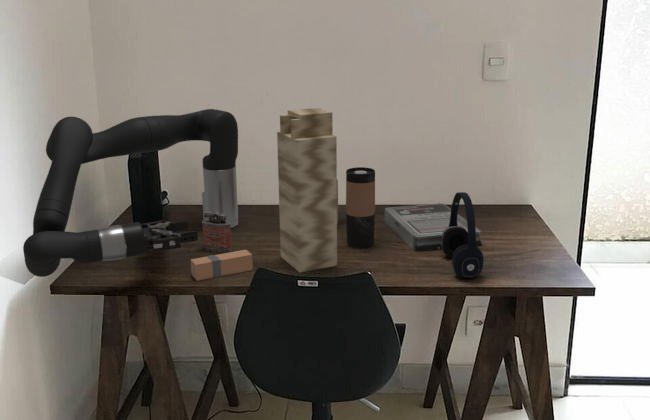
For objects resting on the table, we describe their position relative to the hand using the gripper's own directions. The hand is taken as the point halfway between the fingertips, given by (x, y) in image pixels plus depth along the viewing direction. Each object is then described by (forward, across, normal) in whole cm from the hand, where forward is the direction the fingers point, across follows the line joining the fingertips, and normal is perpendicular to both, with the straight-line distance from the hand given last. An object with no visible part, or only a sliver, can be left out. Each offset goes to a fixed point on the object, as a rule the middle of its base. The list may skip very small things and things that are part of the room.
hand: (192, 230), depth 163 cm
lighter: (+10, -16, -12) cm, 22 cm away
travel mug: (+45, -3, -12) cm, 47 cm away
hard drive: (+67, -2, -13) cm, 68 cm away
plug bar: (+6, 0, -12) cm, 13 cm away
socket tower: (+28, +3, -12) cm, 30 cm away
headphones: (+59, +23, -13) cm, 65 cm away
